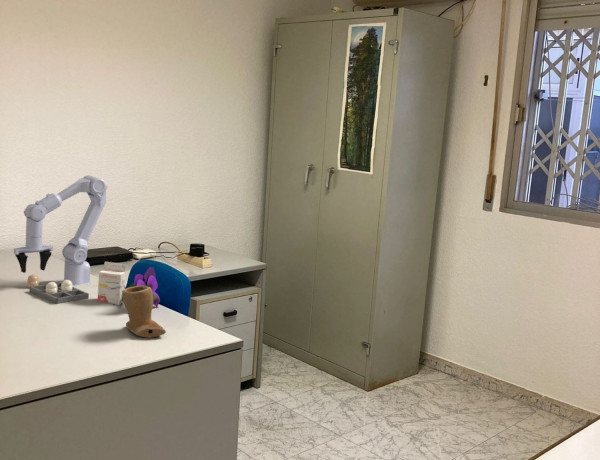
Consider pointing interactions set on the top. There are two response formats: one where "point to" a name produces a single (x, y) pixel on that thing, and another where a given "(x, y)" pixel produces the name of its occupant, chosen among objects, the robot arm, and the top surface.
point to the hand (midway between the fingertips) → (33, 270)
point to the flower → (147, 283)
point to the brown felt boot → (141, 312)
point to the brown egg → (32, 281)
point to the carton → (59, 294)
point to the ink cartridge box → (111, 283)
